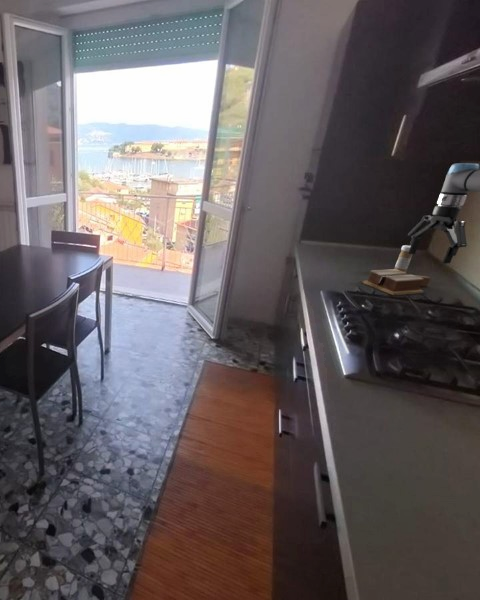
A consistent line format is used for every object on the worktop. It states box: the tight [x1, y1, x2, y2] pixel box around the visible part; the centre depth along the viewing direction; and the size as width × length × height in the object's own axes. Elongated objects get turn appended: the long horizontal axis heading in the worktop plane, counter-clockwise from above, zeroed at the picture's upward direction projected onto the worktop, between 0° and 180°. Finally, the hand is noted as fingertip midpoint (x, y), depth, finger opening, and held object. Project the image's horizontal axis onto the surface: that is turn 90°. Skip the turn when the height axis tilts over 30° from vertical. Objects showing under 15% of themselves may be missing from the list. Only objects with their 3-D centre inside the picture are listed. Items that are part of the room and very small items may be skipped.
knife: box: [379, 274, 431, 287], centre depth 149 cm, size 23×2×4 cm, turn 99°
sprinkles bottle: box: [393, 244, 414, 273], centre depth 162 cm, size 5×5×14 cm
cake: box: [362, 268, 424, 296], centre depth 148 cm, size 14×14×6 cm
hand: (427, 258), depth 146 cm, fingers open, 13 cm apart
